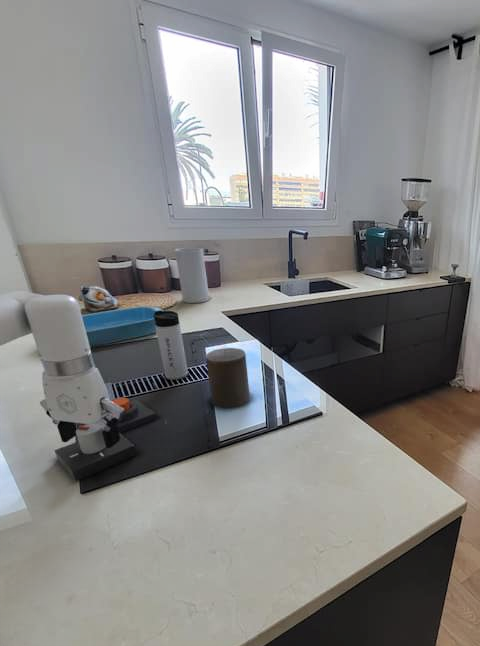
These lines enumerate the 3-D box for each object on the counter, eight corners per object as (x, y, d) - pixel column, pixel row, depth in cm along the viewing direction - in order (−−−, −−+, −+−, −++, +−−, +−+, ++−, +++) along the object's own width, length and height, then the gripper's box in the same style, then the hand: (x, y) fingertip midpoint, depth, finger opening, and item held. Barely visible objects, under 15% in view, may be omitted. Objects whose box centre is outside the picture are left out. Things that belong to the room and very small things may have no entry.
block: (107, 440, 87) (103, 425, 85) (90, 424, 93) (85, 409, 91) (157, 420, 95) (154, 406, 93) (138, 407, 101) (135, 393, 99)
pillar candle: (231, 414, 98) (224, 359, 92) (204, 404, 103) (195, 351, 97) (258, 398, 106) (253, 347, 100) (232, 390, 111) (226, 340, 104)
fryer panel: (76, 484, 74) (71, 470, 73) (58, 462, 80) (54, 449, 78) (136, 457, 82) (133, 444, 81) (116, 439, 87) (113, 427, 86)
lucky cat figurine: (126, 305, 186) (119, 283, 176) (110, 321, 178) (102, 299, 168) (95, 295, 186) (87, 271, 175) (78, 311, 178) (68, 287, 167)
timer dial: (112, 442, 81) (106, 422, 79) (95, 455, 77) (89, 434, 75) (93, 440, 82) (87, 420, 80) (76, 452, 78) (69, 432, 76)
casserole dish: (62, 355, 130) (55, 335, 127) (50, 338, 145) (44, 319, 142) (175, 332, 153) (172, 315, 151) (155, 319, 168) (152, 303, 165)
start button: (115, 415, 90) (113, 407, 89) (107, 409, 92) (105, 402, 91) (133, 409, 93) (131, 401, 92) (126, 403, 95) (124, 396, 94)
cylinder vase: (213, 300, 200) (207, 250, 190) (189, 304, 191) (181, 252, 181) (202, 296, 208) (195, 247, 197) (178, 300, 199) (170, 249, 189)
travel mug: (177, 371, 121) (166, 308, 113) (193, 375, 119) (182, 311, 110) (160, 378, 116) (147, 313, 108) (175, 383, 113) (163, 316, 105)
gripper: (8, 367, 70) (37, 446, 77) (95, 376, 67) (117, 457, 74) (45, 352, 76) (69, 426, 83) (126, 360, 74) (143, 436, 81)
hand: (91, 441), depth 79 cm, fingers open, 9 cm apart
